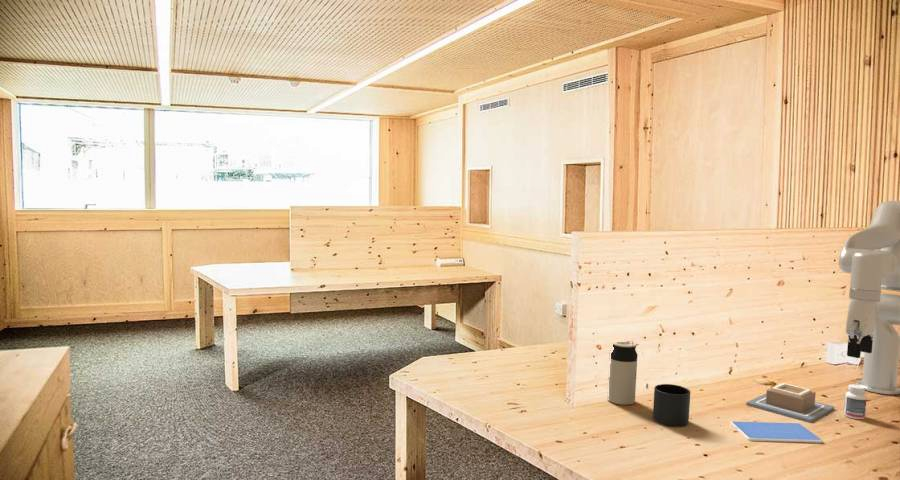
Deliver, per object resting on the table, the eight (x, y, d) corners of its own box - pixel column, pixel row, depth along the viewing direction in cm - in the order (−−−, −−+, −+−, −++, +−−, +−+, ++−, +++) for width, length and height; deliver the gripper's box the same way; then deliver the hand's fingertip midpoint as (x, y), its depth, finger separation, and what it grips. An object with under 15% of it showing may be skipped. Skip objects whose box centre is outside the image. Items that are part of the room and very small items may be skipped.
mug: (678, 412, 189) (680, 381, 188) (693, 427, 177) (695, 395, 176) (645, 411, 189) (647, 380, 188) (658, 427, 177) (660, 394, 176)
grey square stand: (772, 393, 209) (773, 375, 208) (834, 409, 195) (835, 390, 195) (746, 404, 197) (747, 386, 196) (810, 422, 183) (812, 403, 183)
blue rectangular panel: (748, 442, 169) (748, 438, 169) (728, 424, 182) (729, 420, 181) (824, 445, 169) (824, 440, 169) (799, 427, 181) (799, 422, 181)
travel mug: (605, 403, 195) (608, 343, 193) (609, 395, 202) (612, 338, 201) (633, 407, 192) (636, 347, 190) (636, 399, 199) (639, 341, 198)
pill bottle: (868, 420, 186) (870, 390, 185) (847, 418, 187) (850, 388, 186) (860, 414, 191) (863, 384, 191) (840, 412, 192) (843, 382, 192)
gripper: (860, 291, 194) (855, 347, 196) (839, 296, 183) (833, 356, 184) (889, 294, 189) (884, 353, 190) (869, 300, 177) (864, 362, 179)
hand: (859, 354), depth 187 cm, fingers open, 9 cm apart
